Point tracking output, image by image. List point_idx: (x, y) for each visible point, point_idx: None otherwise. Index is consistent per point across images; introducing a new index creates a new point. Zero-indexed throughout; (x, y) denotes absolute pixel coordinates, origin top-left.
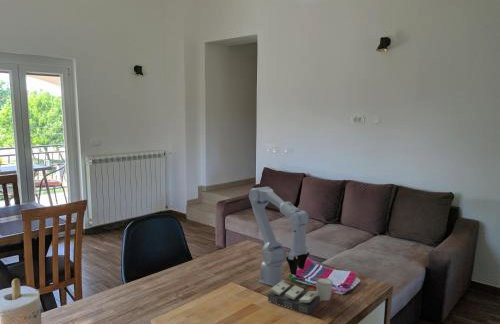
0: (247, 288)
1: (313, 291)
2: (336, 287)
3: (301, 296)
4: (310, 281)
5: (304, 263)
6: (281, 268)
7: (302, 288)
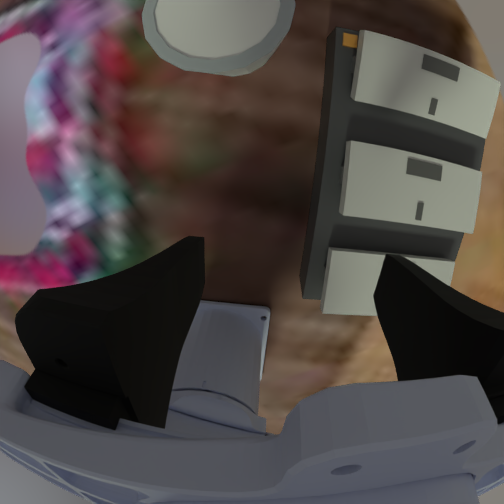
0: (336, 383)
1: (368, 63)
2: (71, 44)
3: (406, 138)
4: (83, 187)
5: (180, 259)
6: (203, 371)
7: (350, 153)
